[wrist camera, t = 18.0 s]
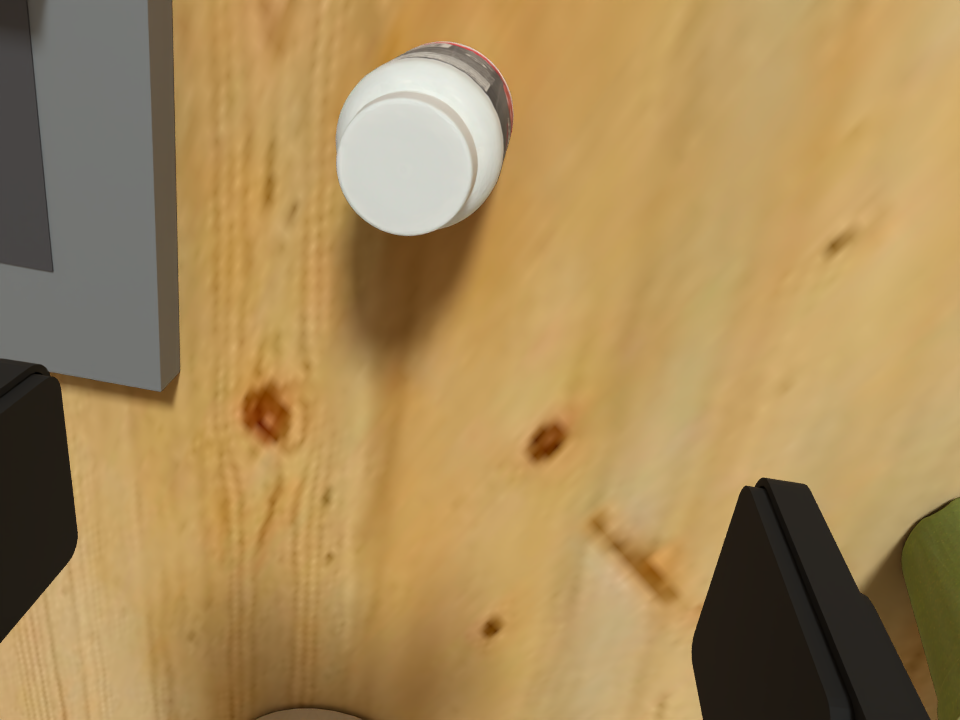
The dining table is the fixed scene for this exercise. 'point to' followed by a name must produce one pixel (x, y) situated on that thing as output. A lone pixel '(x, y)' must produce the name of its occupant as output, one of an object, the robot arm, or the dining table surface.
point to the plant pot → (937, 600)
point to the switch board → (89, 189)
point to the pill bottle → (424, 138)
